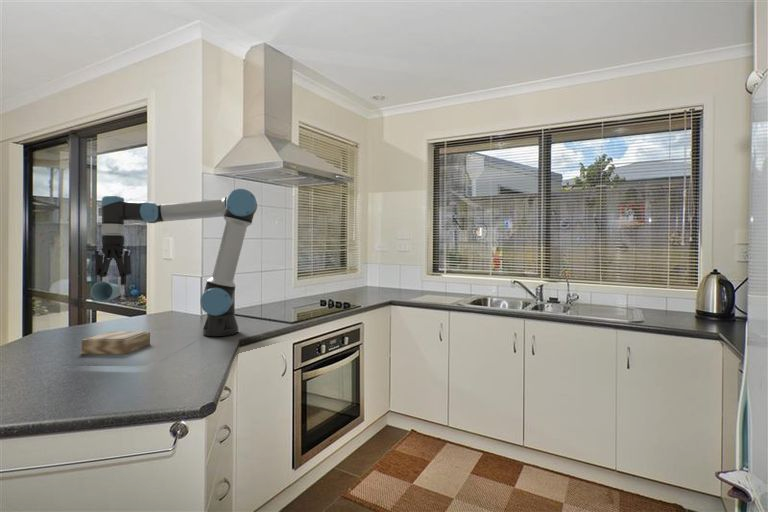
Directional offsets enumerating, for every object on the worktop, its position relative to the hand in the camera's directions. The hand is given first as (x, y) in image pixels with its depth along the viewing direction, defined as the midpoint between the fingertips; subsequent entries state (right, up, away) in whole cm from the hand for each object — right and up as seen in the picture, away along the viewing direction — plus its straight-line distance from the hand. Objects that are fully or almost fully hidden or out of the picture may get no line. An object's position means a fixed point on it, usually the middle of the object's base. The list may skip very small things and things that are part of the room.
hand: (113, 292), depth 168 cm
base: (+6, -21, -7) cm, 23 cm away
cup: (0, -4, -1) cm, 4 cm away
